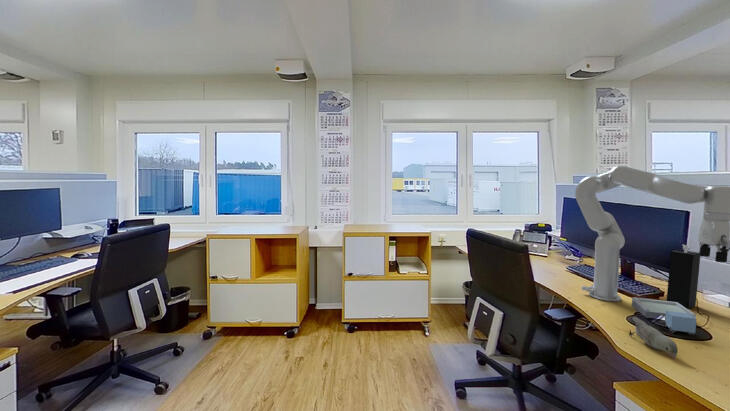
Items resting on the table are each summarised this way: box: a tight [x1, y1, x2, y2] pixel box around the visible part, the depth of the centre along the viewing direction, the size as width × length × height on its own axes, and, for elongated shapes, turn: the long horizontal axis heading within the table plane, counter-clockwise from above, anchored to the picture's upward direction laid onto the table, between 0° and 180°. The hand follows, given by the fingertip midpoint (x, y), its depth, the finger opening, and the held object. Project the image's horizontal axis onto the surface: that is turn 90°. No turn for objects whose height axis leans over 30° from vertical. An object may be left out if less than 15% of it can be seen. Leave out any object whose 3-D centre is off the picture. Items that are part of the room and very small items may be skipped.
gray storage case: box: [664, 311, 697, 335], centre depth 124 cm, size 8×5×7 cm, turn 69°
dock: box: [631, 296, 697, 319], centre depth 140 cm, size 16×14×4 cm
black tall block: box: [666, 243, 701, 310], centre depth 150 cm, size 8×8×28 cm
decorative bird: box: [628, 316, 679, 360], centre depth 113 cm, size 5×16×8 cm, turn 3°
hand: (712, 259), depth 133 cm, fingers open, 9 cm apart
